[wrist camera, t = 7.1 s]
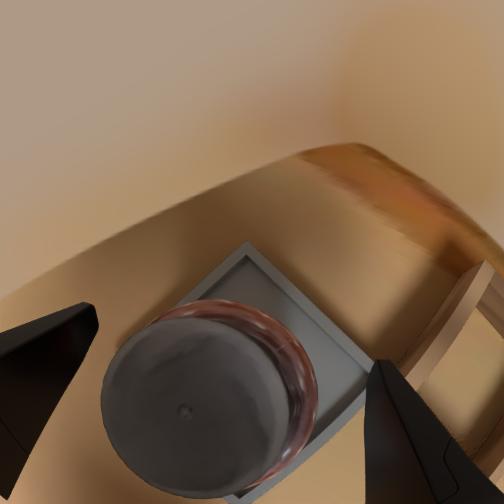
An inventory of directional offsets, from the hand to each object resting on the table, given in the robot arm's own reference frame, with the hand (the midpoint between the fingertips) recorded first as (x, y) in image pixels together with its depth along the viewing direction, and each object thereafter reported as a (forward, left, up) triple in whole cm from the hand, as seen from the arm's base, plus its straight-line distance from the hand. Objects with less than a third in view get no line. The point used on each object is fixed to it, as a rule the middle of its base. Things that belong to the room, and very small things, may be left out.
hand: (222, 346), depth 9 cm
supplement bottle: (-1, -1, -8) cm, 8 cm away
